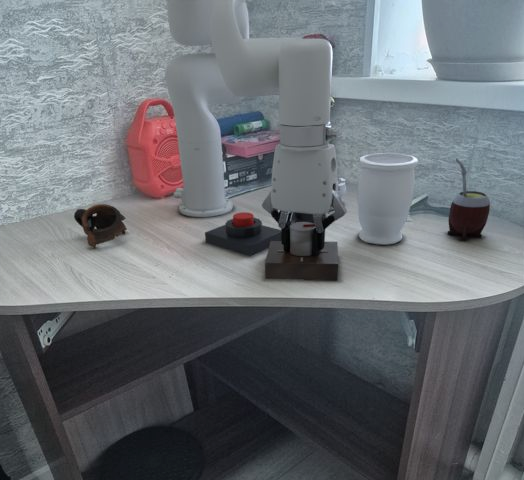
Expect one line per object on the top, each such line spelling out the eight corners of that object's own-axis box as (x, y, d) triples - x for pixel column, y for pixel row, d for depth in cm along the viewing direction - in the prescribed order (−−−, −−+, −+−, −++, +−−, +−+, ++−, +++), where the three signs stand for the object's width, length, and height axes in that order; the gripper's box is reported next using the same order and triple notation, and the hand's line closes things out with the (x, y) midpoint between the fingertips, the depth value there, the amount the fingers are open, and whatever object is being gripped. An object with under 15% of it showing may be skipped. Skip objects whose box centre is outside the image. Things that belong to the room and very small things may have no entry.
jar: (408, 249, 90) (420, 165, 82) (352, 246, 92) (358, 164, 84) (406, 229, 99) (416, 152, 90) (355, 227, 100) (360, 151, 92)
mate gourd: (483, 231, 96) (501, 151, 88) (482, 245, 90) (501, 161, 82) (444, 227, 99) (458, 150, 91) (441, 240, 93) (455, 159, 85)
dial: (290, 256, 81) (290, 229, 78) (289, 247, 84) (289, 220, 82) (316, 255, 81) (317, 228, 78) (314, 246, 84) (315, 219, 82)
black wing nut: (284, 217, 108) (284, 204, 106) (329, 216, 107) (330, 203, 106) (285, 229, 101) (284, 215, 100) (332, 228, 101) (333, 214, 99)
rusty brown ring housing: (140, 234, 103) (132, 207, 95) (118, 268, 99) (108, 242, 91) (90, 217, 104) (79, 188, 97) (66, 249, 100) (53, 221, 93)
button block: (205, 243, 96) (203, 223, 94) (240, 229, 102) (239, 210, 100) (249, 257, 89) (248, 236, 87) (283, 241, 95) (283, 221, 93)
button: (229, 225, 94) (228, 216, 93) (243, 219, 96) (242, 210, 95) (244, 229, 91) (243, 220, 90) (258, 223, 94) (257, 214, 93)
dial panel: (265, 279, 81) (264, 262, 79) (271, 256, 89) (270, 240, 87) (337, 280, 79) (338, 262, 78) (336, 257, 88) (337, 240, 86)
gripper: (365, 133, 72) (356, 249, 82) (263, 130, 78) (266, 237, 88) (352, 143, 67) (344, 265, 77) (243, 138, 73) (248, 252, 83)
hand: (302, 249), depth 82 cm, fingers closed on dial, 4 cm apart
